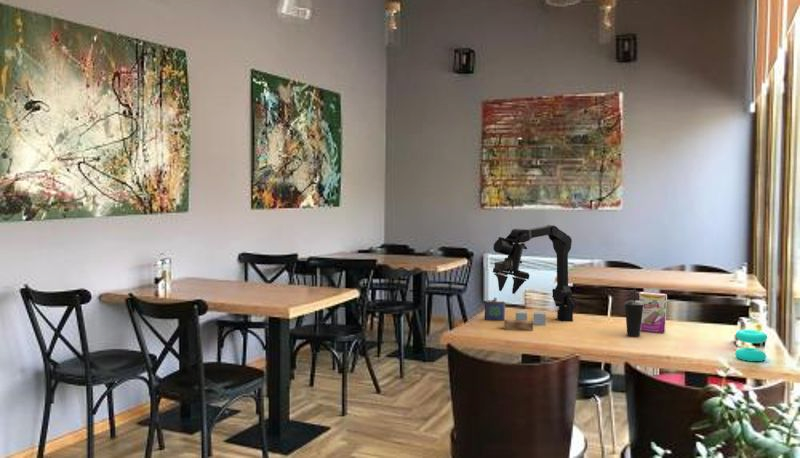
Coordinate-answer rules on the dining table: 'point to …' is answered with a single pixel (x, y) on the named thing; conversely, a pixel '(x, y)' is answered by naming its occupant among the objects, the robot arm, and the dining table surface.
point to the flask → (494, 310)
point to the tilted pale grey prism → (521, 315)
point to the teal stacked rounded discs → (751, 337)
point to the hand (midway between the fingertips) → (506, 292)
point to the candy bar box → (653, 312)
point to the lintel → (518, 325)
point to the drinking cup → (633, 316)
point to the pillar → (539, 318)
